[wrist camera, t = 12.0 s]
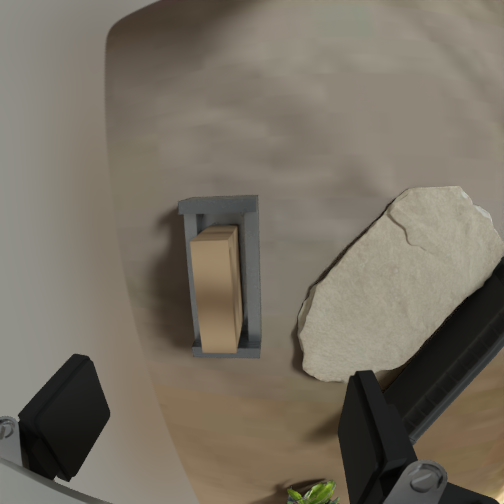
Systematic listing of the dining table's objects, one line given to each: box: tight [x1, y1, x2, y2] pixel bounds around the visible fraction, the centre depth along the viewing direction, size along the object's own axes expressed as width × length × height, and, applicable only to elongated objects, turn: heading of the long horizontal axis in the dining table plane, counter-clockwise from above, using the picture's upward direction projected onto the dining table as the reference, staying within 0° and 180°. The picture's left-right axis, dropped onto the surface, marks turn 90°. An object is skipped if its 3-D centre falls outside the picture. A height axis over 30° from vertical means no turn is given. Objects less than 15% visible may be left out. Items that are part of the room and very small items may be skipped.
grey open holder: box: [178, 195, 261, 358], centre depth 31 cm, size 16×7×5 cm, turn 2°
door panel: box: [190, 224, 244, 353], centre depth 29 cm, size 10×3×8 cm, turn 3°
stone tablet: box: [297, 186, 504, 383], centre depth 32 cm, size 16×30×2 cm, turn 134°
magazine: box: [383, 256, 504, 446], centre depth 30 cm, size 17×3×30 cm
